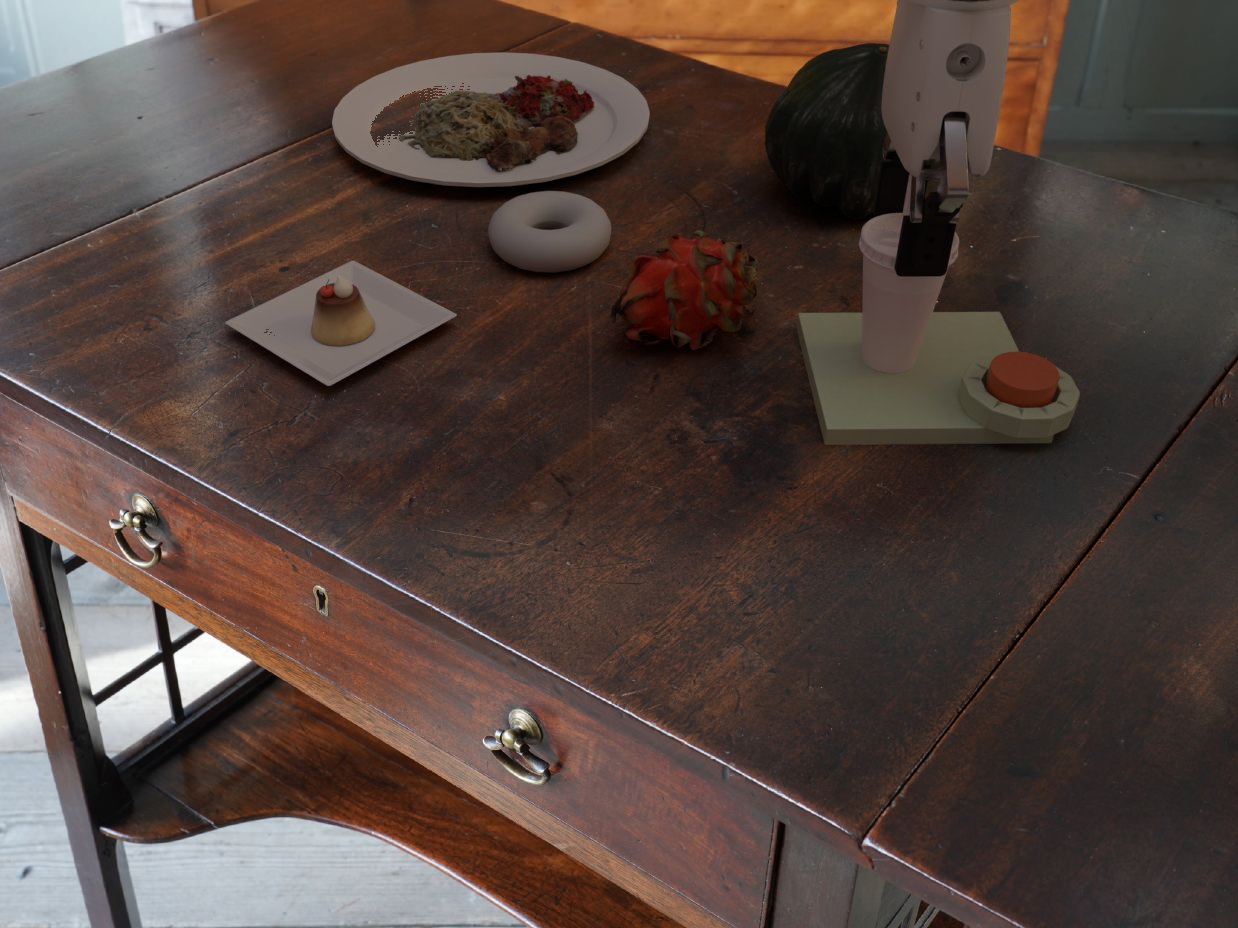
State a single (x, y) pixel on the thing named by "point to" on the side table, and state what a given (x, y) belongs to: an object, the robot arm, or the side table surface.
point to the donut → (549, 231)
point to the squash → (833, 129)
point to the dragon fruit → (687, 291)
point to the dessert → (340, 321)
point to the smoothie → (894, 296)
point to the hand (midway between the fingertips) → (907, 243)
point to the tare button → (1022, 379)
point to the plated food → (495, 119)
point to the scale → (922, 386)
